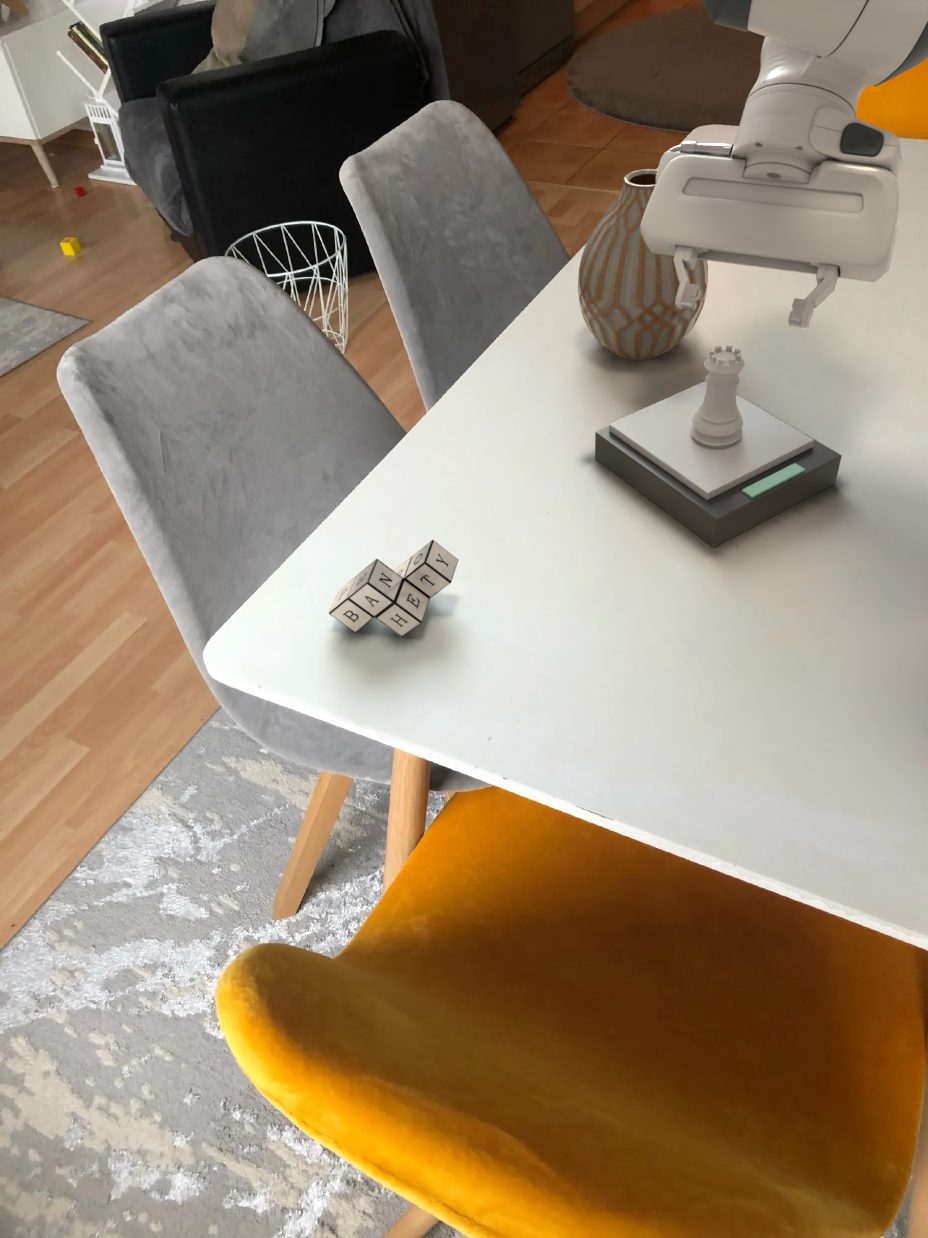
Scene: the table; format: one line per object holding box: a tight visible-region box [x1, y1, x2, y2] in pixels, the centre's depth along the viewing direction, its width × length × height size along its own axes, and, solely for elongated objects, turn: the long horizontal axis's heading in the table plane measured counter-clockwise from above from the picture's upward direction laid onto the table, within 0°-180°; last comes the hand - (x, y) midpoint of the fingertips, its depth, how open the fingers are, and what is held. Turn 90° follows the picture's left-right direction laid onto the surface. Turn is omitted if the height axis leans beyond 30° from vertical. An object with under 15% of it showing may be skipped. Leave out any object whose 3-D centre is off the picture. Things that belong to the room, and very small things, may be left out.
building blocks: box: [328, 539, 459, 638], centre depth 75 cm, size 5×5×8 cm
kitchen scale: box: [594, 380, 843, 548], centre depth 85 cm, size 16×14×4 cm
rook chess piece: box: [690, 344, 746, 448], centre depth 81 cm, size 4×4×8 cm
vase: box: [577, 168, 709, 361], centre depth 97 cm, size 13×13×18 cm
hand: (739, 316), depth 79 cm, fingers open, 8 cm apart
